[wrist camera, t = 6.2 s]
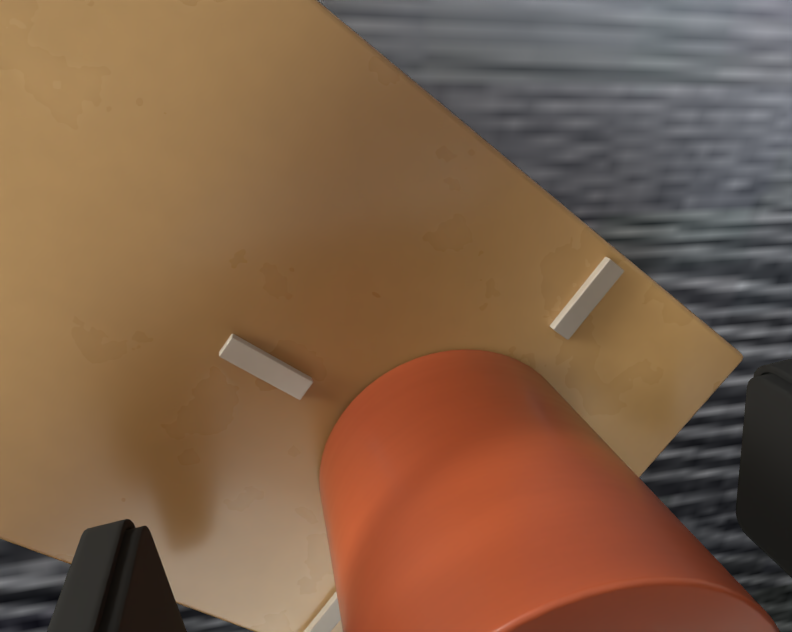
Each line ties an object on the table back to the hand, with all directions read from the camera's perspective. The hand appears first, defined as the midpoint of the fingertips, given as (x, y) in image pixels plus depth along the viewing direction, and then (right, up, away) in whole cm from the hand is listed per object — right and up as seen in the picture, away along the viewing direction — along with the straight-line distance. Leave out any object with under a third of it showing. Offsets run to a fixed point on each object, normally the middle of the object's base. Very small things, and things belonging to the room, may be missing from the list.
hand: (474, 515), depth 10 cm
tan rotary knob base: (-3, +3, +3) cm, 5 cm away
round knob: (0, +1, +1) cm, 1 cm away
